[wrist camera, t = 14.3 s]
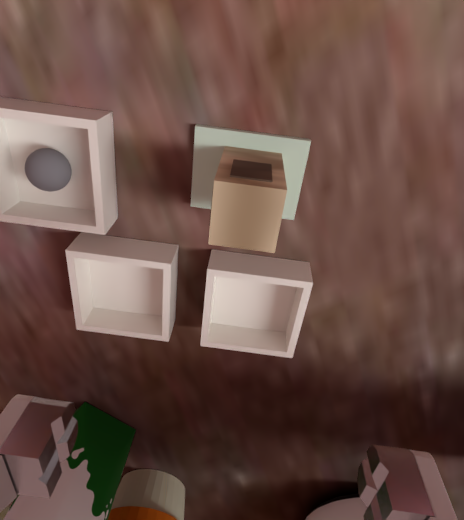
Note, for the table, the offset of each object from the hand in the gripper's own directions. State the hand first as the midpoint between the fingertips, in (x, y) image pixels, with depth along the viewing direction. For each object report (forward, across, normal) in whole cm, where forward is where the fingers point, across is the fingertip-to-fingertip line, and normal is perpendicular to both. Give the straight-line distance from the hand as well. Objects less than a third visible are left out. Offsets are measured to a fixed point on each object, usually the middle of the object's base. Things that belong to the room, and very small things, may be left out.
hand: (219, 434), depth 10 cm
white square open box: (+21, +14, +1) cm, 25 cm away
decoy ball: (+19, +14, +1) cm, 23 cm away
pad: (+21, 0, 0) cm, 21 cm away
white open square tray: (+21, -2, +11) cm, 24 cm away
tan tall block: (+20, 0, 0) cm, 20 cm away
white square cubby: (+21, +9, +11) cm, 25 cm away
